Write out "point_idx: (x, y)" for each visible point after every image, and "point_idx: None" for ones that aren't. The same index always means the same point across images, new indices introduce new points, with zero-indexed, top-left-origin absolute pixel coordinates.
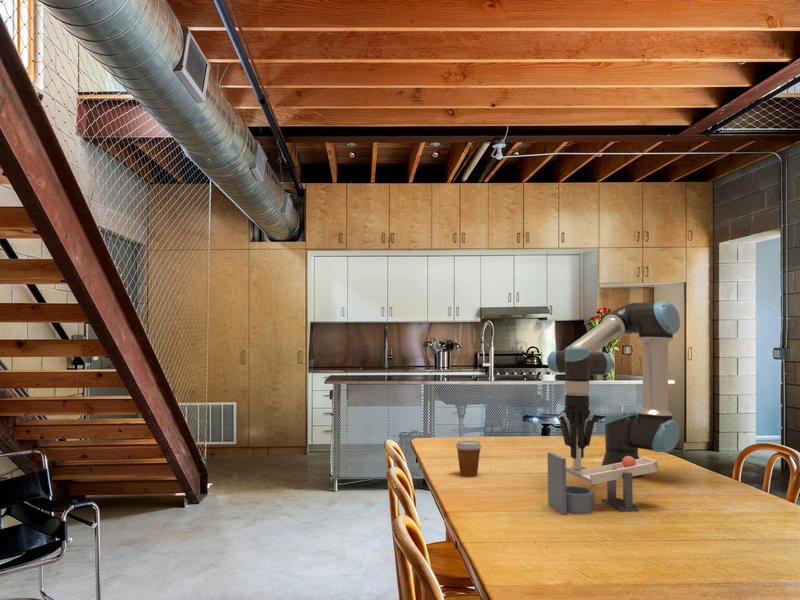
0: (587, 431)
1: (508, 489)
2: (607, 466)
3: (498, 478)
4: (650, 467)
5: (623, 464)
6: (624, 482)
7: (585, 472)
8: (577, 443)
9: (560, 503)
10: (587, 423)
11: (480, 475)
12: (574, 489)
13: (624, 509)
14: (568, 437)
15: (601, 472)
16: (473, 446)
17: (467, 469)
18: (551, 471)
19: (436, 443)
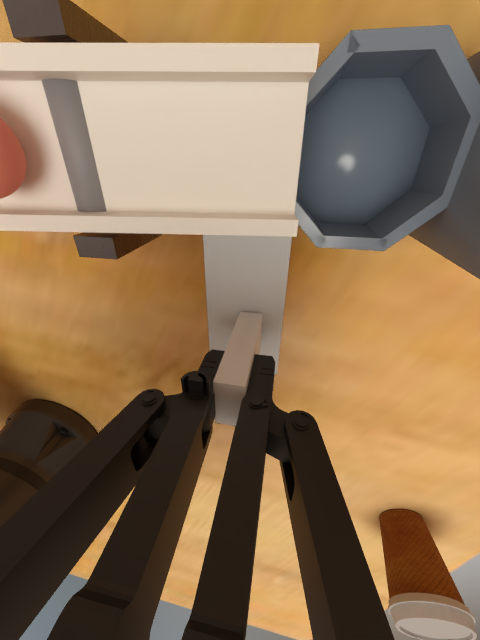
0: (83, 510)
1: (401, 413)
2: (121, 215)
3: (351, 483)
4: None
5: (14, 147)
6: (100, 30)
7: (271, 216)
8: (209, 440)
9: None
10: (11, 631)
11: (375, 509)
12: (318, 227)
13: None
14: (318, 485)
15: (219, 66)
16: (441, 611)
17: (424, 532)
18: None
19: (309, 626)
